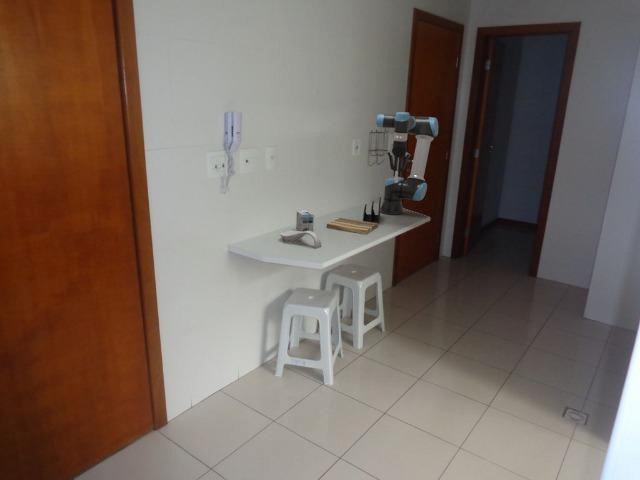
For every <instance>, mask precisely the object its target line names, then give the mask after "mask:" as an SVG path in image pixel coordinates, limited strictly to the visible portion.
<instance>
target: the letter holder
mask: <svg viewBox="0 0 640 480" xmlns="http://www.w3.org/2000/svg"><path fill="white" fill-rule="evenodd" d="M378 199H379V200H378V201H379V202H378V214H376V213H375V211H374V203H375V202H374V201H375V200H372V202H371V208H370V209H371V211H370V214H369V213H367V204H366V203H365V205H364V209H363V216H362V217H363V218H362V221H366V222H372V223H378V225H379V224H380V219H381V212H380V208H381V206H382V197H381V196H380V197H379V198H378Z"/></svg>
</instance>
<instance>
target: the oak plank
mask: <svg viewBox="0 0 640 480" xmlns="http://www.w3.org/2000/svg"><path fill="white" fill-rule="evenodd" d="M326 228H328V229H334V230H340V231H345V232H351V233H358V234H363V235H367V234H369V233H371V232H372V231H373V230H372V227H369V226H363V225H357V224H351V223H344V222H338V221H335V220H332V221H330V222H328V223H326Z"/></svg>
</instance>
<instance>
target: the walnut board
mask: <svg viewBox="0 0 640 480" xmlns="http://www.w3.org/2000/svg"><path fill="white" fill-rule="evenodd" d="M334 221H338V222H344V223H351V224H357V225H363V226H369V227H372V231H374V230H375V229H376V228H378V227H379V224H378V223H372V222H366V221H363V220H360V219H359V220H358V219H353V218H347V217H339V218H337V219H335V220H334Z"/></svg>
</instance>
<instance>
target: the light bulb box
mask: <svg viewBox="0 0 640 480" xmlns="http://www.w3.org/2000/svg"><path fill="white" fill-rule="evenodd" d="M314 219H315V215H314V213H313V212H310V210H308V209H307V210H305V209H304V210H303V209H299V210H298V209H297V210H296V221H295V224H296V225H295V228H296V231H301V232H305V231H312V232H314V225H315V224H314V223H315V220H314Z"/></svg>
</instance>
